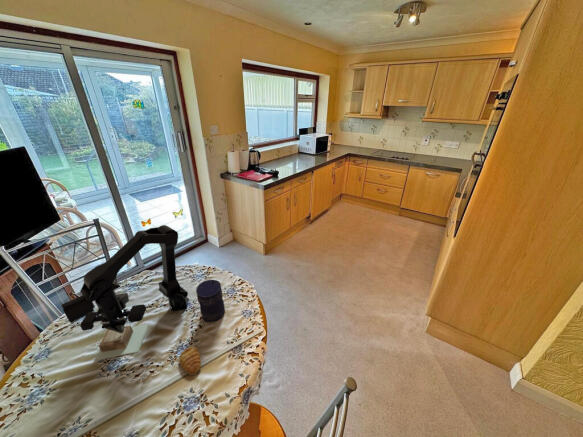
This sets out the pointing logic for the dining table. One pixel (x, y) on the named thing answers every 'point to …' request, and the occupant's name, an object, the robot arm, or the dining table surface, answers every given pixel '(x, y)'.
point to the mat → (132, 345)
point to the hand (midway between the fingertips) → (122, 331)
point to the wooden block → (116, 339)
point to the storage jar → (210, 300)
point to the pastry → (190, 360)
